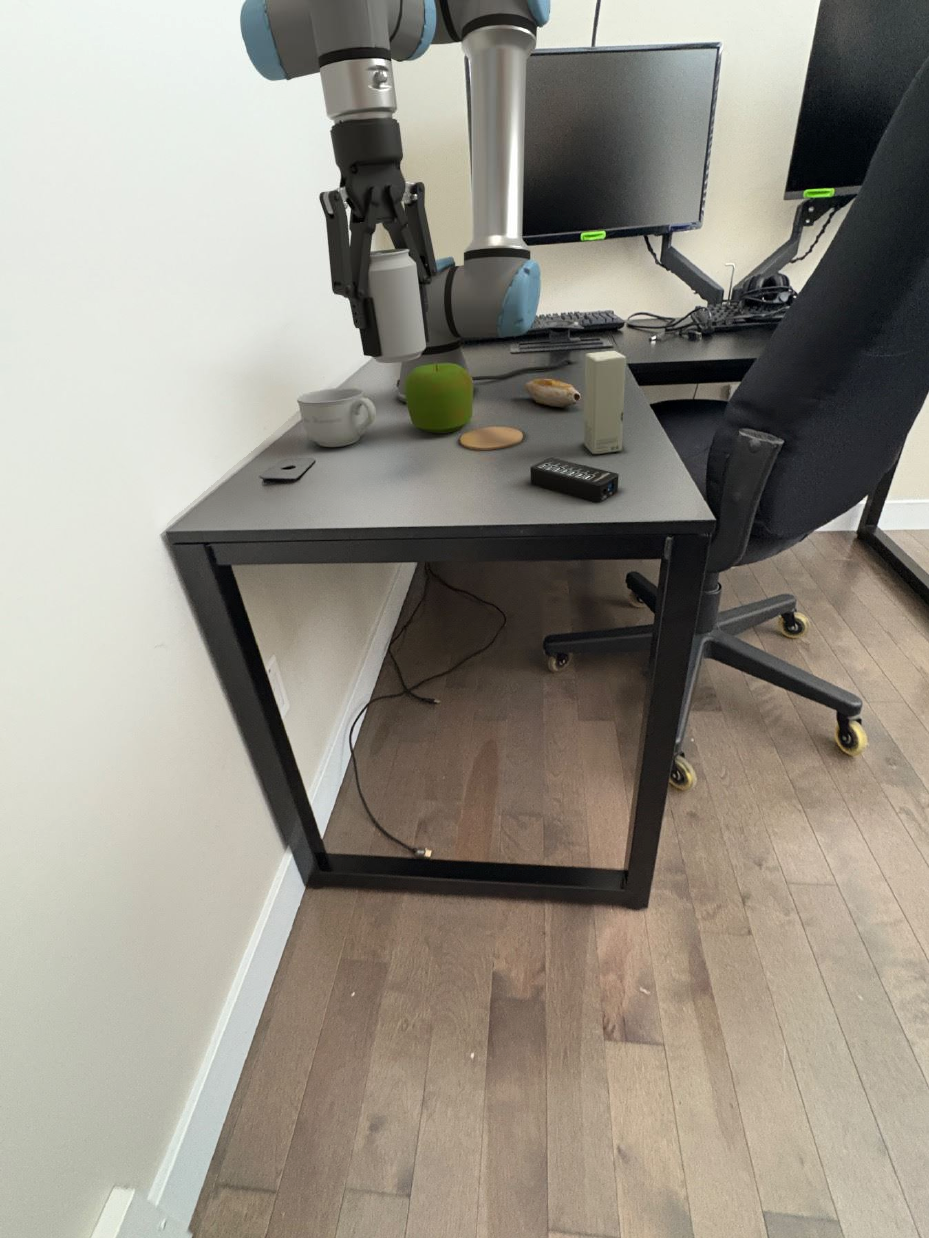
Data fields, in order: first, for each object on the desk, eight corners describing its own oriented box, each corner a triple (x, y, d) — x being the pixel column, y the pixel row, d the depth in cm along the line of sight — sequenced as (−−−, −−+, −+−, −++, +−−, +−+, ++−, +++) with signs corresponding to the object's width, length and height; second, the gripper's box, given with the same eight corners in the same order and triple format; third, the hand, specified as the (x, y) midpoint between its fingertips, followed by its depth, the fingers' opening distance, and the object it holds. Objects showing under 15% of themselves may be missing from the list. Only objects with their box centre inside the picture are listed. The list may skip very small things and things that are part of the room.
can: (418, 363, 74) (403, 250, 67) (361, 366, 76) (341, 256, 69) (433, 349, 80) (421, 244, 73) (380, 352, 82) (364, 249, 75)
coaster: (488, 425, 101) (488, 423, 101) (535, 435, 95) (535, 432, 95) (447, 443, 96) (447, 440, 96) (494, 454, 90) (494, 451, 90)
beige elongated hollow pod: (540, 393, 115) (539, 369, 112) (587, 409, 104) (588, 383, 102) (517, 399, 113) (516, 375, 110) (563, 416, 102) (563, 389, 100)
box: (622, 452, 86) (628, 356, 79) (592, 456, 86) (595, 360, 78) (610, 440, 90) (615, 349, 83) (582, 444, 90) (584, 352, 83)
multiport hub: (550, 473, 82) (550, 456, 81) (619, 491, 75) (620, 473, 74) (529, 483, 80) (528, 467, 78) (598, 503, 73) (599, 485, 71)
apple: (397, 435, 102) (387, 367, 95) (436, 416, 109) (428, 352, 102) (450, 442, 96) (443, 371, 90) (487, 422, 103) (483, 355, 97)
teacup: (295, 446, 101) (283, 397, 97) (346, 427, 107) (337, 381, 103) (345, 461, 93) (335, 408, 88) (397, 440, 99) (390, 390, 95)
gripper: (303, 116, 56) (352, 370, 70) (454, 113, 68) (471, 333, 81) (262, 127, 61) (315, 364, 74) (410, 123, 72) (433, 330, 85)
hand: (397, 348), depth 78 cm, fingers closed on can, 7 cm apart
